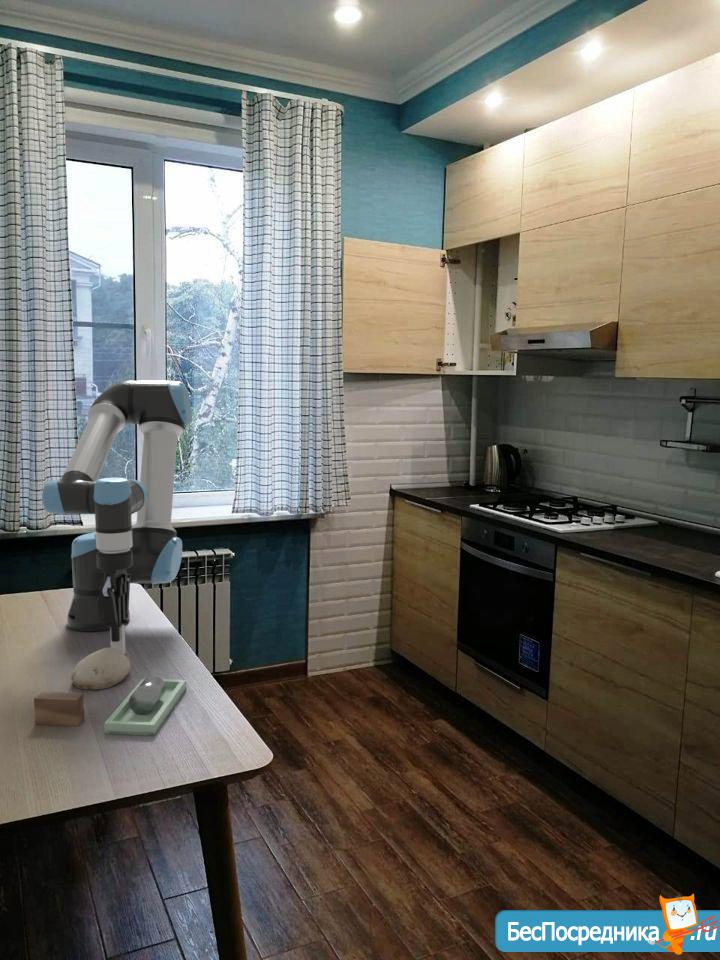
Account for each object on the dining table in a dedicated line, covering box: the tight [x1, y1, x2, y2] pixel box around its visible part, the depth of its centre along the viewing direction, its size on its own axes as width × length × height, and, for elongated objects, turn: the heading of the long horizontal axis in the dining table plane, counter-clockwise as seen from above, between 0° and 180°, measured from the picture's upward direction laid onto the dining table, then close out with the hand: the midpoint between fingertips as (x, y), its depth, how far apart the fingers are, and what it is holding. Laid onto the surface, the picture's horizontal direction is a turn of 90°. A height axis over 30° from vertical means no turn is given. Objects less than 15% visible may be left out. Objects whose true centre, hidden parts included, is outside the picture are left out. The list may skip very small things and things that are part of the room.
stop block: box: [33, 691, 86, 727], centre depth 142 cm, size 3×8×5 cm, turn 87°
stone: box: [71, 647, 131, 691], centre depth 161 cm, size 13×10×8 cm
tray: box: [103, 678, 187, 737], centre depth 147 cm, size 20×9×2 cm, turn 176°
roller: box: [129, 675, 166, 715], centre depth 147 cm, size 5×7×5 cm
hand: (118, 653), depth 170 cm, fingers closed
